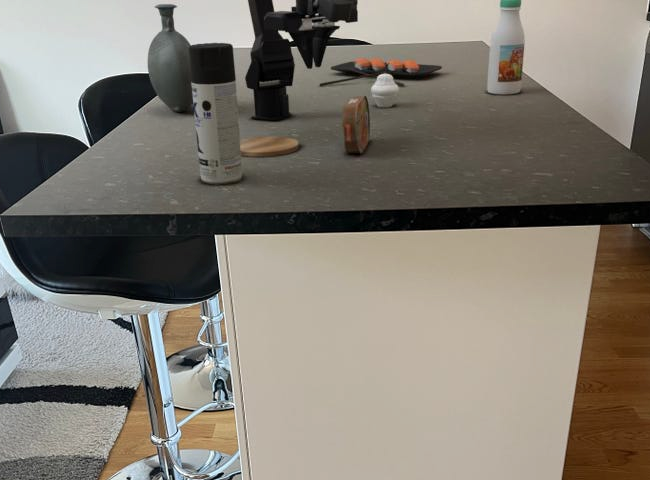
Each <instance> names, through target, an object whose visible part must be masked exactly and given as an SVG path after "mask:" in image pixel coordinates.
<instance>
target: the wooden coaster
mask: <svg viewBox="0 0 650 480" xmlns="http://www.w3.org/2000/svg"><path fill="white" fill-rule="evenodd" d="M240 149H241V156H244V157H256V158H265V157H266V158H267V157H277V156H283V155H287V154H290V153H294V152H296V151H297V150H298V149H299V141H298V140H296V139H295V138H291V137H285V136H257V137H249V138H244V139H240Z"/></svg>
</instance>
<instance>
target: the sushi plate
mask: <svg viewBox="0 0 650 480" xmlns="http://www.w3.org/2000/svg"><path fill="white" fill-rule="evenodd" d="M442 69H443V66H442V65H435V64H419V63H418V62H416V61H415V60H414V59H413V60H412V59H405V60H402V62H401V61H400V60H399V59H391V60H388V61H387V62H384V61H383V60H382V59H381V58H378V57H377V58H376V57H373V58H371V59H367V58H365V57H360V58H356V59H354V61H347V62H344V63H339V64H336V65H332V66H331V67H330V70H331V71H336V72H341V73H344V75H347V76H353V77H348V78H343V79H337V80H332V81H326V82H321V83H319V86H320V87H323V86H329V85H335V84H340V83H344V82H348V81H355V80H359V79H364V78H369V77H371V78H374V79H377V77H378V76H379V75H381V74H384V73H386V74H390V75H391V76H392V77H393V79H406V80H407V79H409V80H412V79H413V80H415V79H421V78H425V77H427V76H429V74H431V73H434V72H437V71H440V70H442ZM393 81H394V82H395V84H397V86H398V87H399V86H400V87H405V84H404V83H403V82H400V81H395V80H393Z"/></svg>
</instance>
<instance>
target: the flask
mask: <svg viewBox="0 0 650 480" xmlns="http://www.w3.org/2000/svg"><path fill="white" fill-rule="evenodd" d="M154 8H155V9H157V10H158V13H159V16H160V20H161V21H160V22H161V30H160V31H159V32H158V33H157V34H156V35H155V36H154V37H153V39H152V40H151V41H150V44H149V48H148V53H147V72H148V77H149V81H150V84H151V86H152V88H153V91H154V92H155V94H156V95H157V97H158V98H159V99H160V101H161V102H162V103H163V104H164V105H165V106H166V107H168V108H169V109H170V110H173V111H175V112H177V113H178V112H179V113H181V112H186V111H188V110H189V109H190V108H191V107H192V106H193V105H194V104H193V94H192V83H191V73H190V60H189V46H191V45H192V44H191V43H190V42H189V40H188V39H187V38H186V37H185V36H184V35H183V34H181V33H180V32H178V30H176V29H175V20H174V10H175V8H178V6H177V5H176V4H171V3H162V4H161V3H159V4H156V5H154Z"/></svg>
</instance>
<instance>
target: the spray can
mask: <svg viewBox="0 0 650 480" xmlns="http://www.w3.org/2000/svg"><path fill="white" fill-rule="evenodd" d="M190 45H191V46H189V60H190V73H191V83H192V94H193V104H192V105H193V113H194V123H195V133H196V143H197V144H196V146H197V155H198V164H199V165H198V166H199V174H200V180H201V181H202V182H203V183H205V184H209V185H229V184H233V183H237V182H238V181H240V180H241V179H243V165H242V155H241V149H240V140H241V137H240V136H241V135H240V123H239V108H238V96H237V95H238V94H237V78H236V69H235V67H236V65H235V57H234V56H235V55H234V46H233V44H232V43H228V42H227V43H226V42H211V43H209V42H205V43H195V44H190Z"/></svg>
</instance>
